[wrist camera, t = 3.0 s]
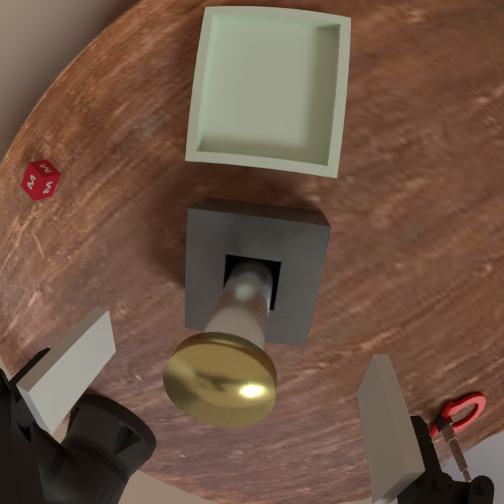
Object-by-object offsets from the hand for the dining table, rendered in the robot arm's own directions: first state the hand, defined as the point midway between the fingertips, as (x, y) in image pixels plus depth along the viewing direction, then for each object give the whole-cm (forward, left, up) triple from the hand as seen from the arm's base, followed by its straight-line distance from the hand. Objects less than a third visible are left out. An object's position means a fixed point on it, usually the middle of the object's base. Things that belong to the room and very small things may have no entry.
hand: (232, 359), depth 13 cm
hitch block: (0, 0, -14) cm, 14 cm away
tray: (-1, +15, -14) cm, 20 cm away
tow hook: (+33, -20, -14) cm, 41 cm away
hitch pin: (0, 0, -14) cm, 14 cm away
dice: (-24, +6, -14) cm, 29 cm away
